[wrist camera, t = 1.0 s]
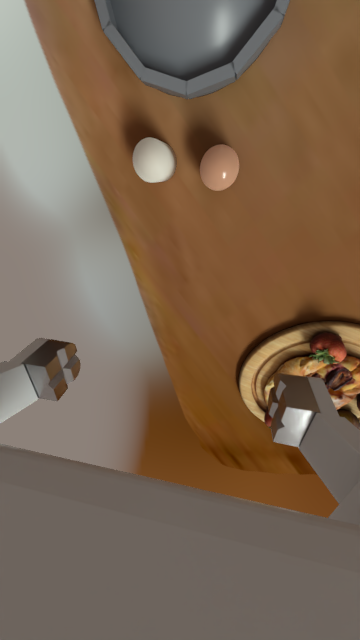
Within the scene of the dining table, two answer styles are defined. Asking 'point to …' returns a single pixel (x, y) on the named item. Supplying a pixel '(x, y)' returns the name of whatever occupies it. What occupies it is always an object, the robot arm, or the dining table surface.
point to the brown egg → (219, 167)
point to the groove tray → (190, 39)
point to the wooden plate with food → (306, 365)
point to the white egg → (154, 160)
